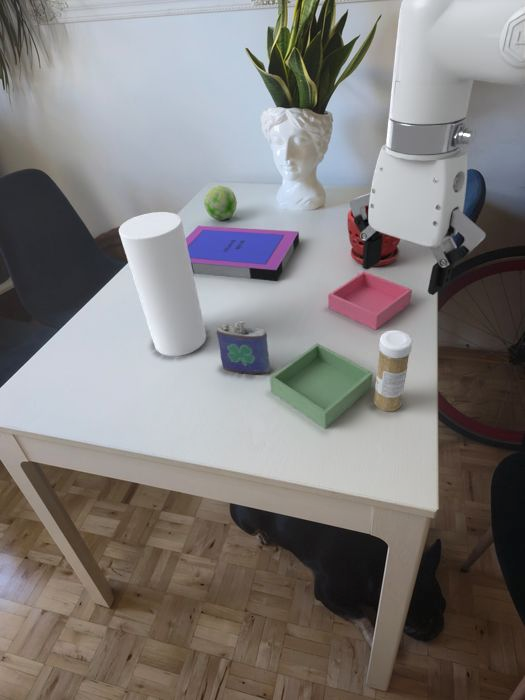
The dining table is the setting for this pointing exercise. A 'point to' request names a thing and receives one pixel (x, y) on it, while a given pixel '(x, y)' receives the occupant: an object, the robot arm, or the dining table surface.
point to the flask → (243, 349)
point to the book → (241, 251)
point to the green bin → (321, 384)
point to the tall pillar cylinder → (164, 281)
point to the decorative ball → (220, 202)
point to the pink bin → (369, 299)
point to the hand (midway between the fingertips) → (402, 277)
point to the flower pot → (388, 244)
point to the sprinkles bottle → (392, 369)
